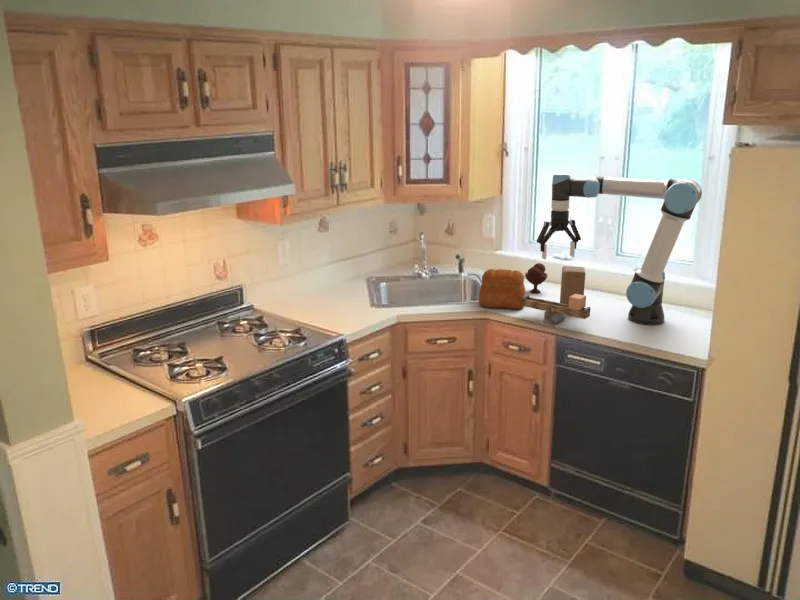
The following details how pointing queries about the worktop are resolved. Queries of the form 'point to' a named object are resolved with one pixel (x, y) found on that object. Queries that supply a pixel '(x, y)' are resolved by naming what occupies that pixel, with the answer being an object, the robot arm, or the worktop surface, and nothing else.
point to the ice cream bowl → (536, 276)
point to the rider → (577, 302)
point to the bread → (502, 289)
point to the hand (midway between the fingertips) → (558, 257)
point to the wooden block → (571, 283)
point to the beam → (554, 310)
